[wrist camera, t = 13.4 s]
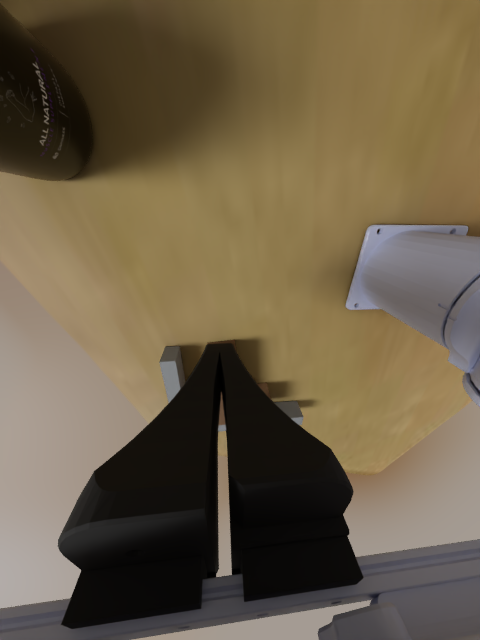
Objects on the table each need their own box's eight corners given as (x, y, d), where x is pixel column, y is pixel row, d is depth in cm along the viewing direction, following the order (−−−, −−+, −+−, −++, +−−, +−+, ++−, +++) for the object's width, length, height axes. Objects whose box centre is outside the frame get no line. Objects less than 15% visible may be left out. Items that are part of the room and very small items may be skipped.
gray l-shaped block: (309, 340, 23) (318, 353, 21) (295, 408, 29) (301, 424, 26) (165, 346, 22) (159, 361, 19) (179, 416, 27) (175, 434, 25)
